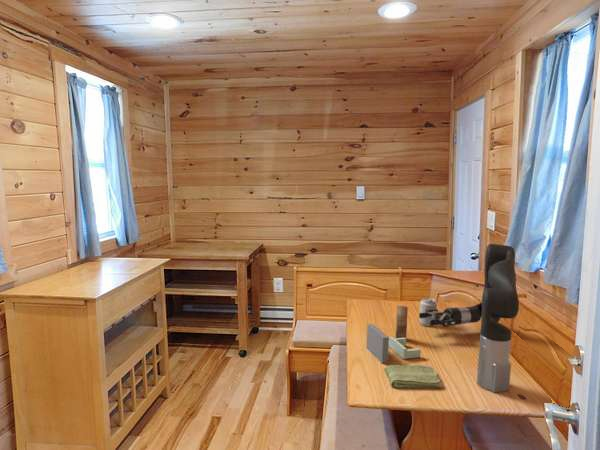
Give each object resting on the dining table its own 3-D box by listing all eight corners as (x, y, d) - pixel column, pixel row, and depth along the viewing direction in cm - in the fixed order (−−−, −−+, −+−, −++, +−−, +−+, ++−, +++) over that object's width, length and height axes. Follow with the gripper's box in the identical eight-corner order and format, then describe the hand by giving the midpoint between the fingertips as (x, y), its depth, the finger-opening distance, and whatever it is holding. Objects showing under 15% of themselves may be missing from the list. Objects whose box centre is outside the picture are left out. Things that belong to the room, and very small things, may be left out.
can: (436, 327, 190) (438, 302, 189) (419, 326, 192) (421, 301, 190) (434, 322, 198) (436, 297, 196) (418, 320, 199) (419, 296, 198)
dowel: (408, 340, 175) (409, 308, 173) (398, 341, 174) (400, 309, 172) (402, 336, 179) (404, 305, 178) (393, 337, 178) (395, 306, 177)
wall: (387, 362, 155) (388, 337, 153) (381, 363, 154) (383, 337, 153) (371, 347, 168) (372, 323, 167) (366, 348, 167) (367, 324, 166)
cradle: (420, 357, 159) (420, 347, 159) (403, 358, 157) (403, 349, 157) (404, 344, 171) (405, 335, 170) (388, 346, 169) (389, 336, 168)
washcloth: (444, 390, 136) (444, 381, 136) (391, 390, 136) (391, 380, 136) (431, 371, 149) (432, 362, 149) (382, 370, 149) (383, 362, 149)
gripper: (448, 302, 189) (416, 305, 185) (468, 313, 176) (434, 316, 172) (447, 318, 190) (415, 321, 186) (467, 330, 177) (433, 333, 173)
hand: (424, 319), depth 179 cm, fingers open, 8 cm apart
